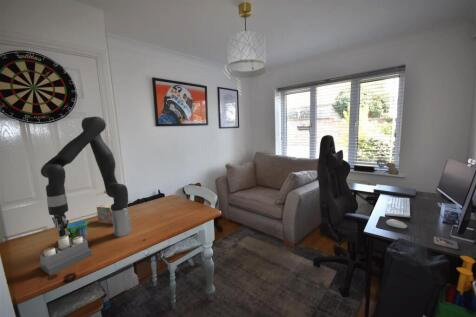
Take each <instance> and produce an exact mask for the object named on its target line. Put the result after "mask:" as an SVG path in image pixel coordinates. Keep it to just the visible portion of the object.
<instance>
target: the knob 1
mask: <svg viewBox="0 0 476 317" xmlns="http://www.w3.org/2000/svg"><path fill="white" fill-rule="evenodd" d="M55 249H56V248H55V247H48V248H46V249H44V250H43V254H44V256H45V258H47V257H49V256H51V255H54V254H56V251H55Z"/></svg>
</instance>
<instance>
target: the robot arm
mask: <svg viewBox="0 0 476 317" xmlns="http://www.w3.org/2000/svg"><path fill="white" fill-rule="evenodd" d="M106 127H107V123H106V120H105V119H103V118H102V117H101V116H88V117H84V118H83V119H82V120H81V128H82V132H80V134H78V135H77V136H76V137H74V138H73V139H72V140H70V141H68V143H66V144H65V145H64V146H63V147H62V148H61V150H60V151H59V152H58V153H57V154H56V155H55V156H53V157H52V158H50V159H49V160H48V161H47V162H46V163H45V164H43V165H42V167H41V169H40V174H41V176H42V177H43V178H46V179H47V182H48V184H46V186H45V193H46V202H47V203H46V204H47V209H48V215H50V216H53V217H51V221H52V222H53V224H54V227H55V228H56V229H57V230H58V236H59V238H60V237H63V236H65V235H66V233H65V232H66V230H67V229H66V228H67V226H68V224H69V222H70V221H69V219H67V216H66V215H65V214H66V213H67V212H68V211H69V206H68V204H69V203H68V197H67V194H66V188H65V182H66V170H65V168H64V167H65V166H66V165H69V164H71V163H72V162H73V161H74V160H75V159H76V158H77V157H78V155H79V154H80V153H81V152H82V151H83V150H84V149H85V148H86V147H87V146H88V145H90V148H91V150H92V153H93V156H94V159H95V162H96V165H97V167H98V169H99V173H100V175H101V178H102V180H103V185H104V190H105V192H106V195H107V196H108V197H110V198H112V199H113V203H111V204H112V205H111V213H112V221H113V224H112V226H113V227H112V228H113V235H114V237H117V238H121V237H124V236H127V235H129V234H130V233H132V231H133V229H132V222H131V217H129V216H130V215H129V207H128V204H129V191H128V187H127V186H126V185H125V184H123V183H118V181H117V178H116V174H115V172H116V160H115V157H114V154H113V152H112V150H111V149H110V148H109V146H108V145H107V144H106V143H105V142H104V140H103V138H102V136H101V133H103V132H104V131H105V129H106Z"/></svg>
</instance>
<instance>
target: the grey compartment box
mask: <svg viewBox="0 0 476 317" xmlns="http://www.w3.org/2000/svg"><path fill="white" fill-rule="evenodd" d="M55 251H56V254H54V255H51V256H49V257H47V258H45V256H44V253H42V254H40V255H39V258H40V261H38V264H39V268H40V269H41V270H42V271H44V272H45V273H46V274H48V275H49V276H52V275H54V274H55V273H57V272H59V271H61V270H64V269H66V268H68V267H71V266H72V265H74V264H76V263H78V262H80V261H82V260H84V259H86V258H89V257H91V256H92V255H93V254H92V249H91V248H89V244H88V240H86V238H85V239H83V242H82V243H79V244H77V245H73V242H72V241H71V243H70V248H68V249H65V250H63V251H60V249H59V247H57V248H55Z"/></svg>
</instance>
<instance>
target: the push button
mask: <svg viewBox="0 0 476 317" xmlns="http://www.w3.org/2000/svg"><path fill="white" fill-rule="evenodd" d="M65 233H66V235H65V236H68V237H69V243H71V242H72V241H71V236H72V233H70V232H68V231H65Z"/></svg>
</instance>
